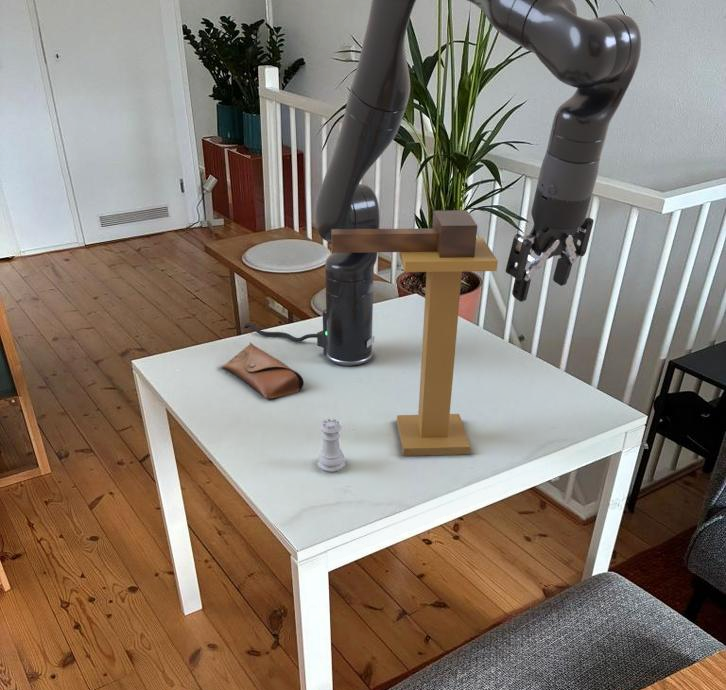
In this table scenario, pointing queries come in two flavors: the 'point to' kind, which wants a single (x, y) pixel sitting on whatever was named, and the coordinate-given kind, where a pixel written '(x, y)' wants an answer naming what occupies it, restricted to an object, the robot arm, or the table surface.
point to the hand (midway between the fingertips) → (539, 290)
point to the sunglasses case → (264, 373)
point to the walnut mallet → (414, 237)
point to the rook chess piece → (331, 447)
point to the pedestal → (439, 353)
